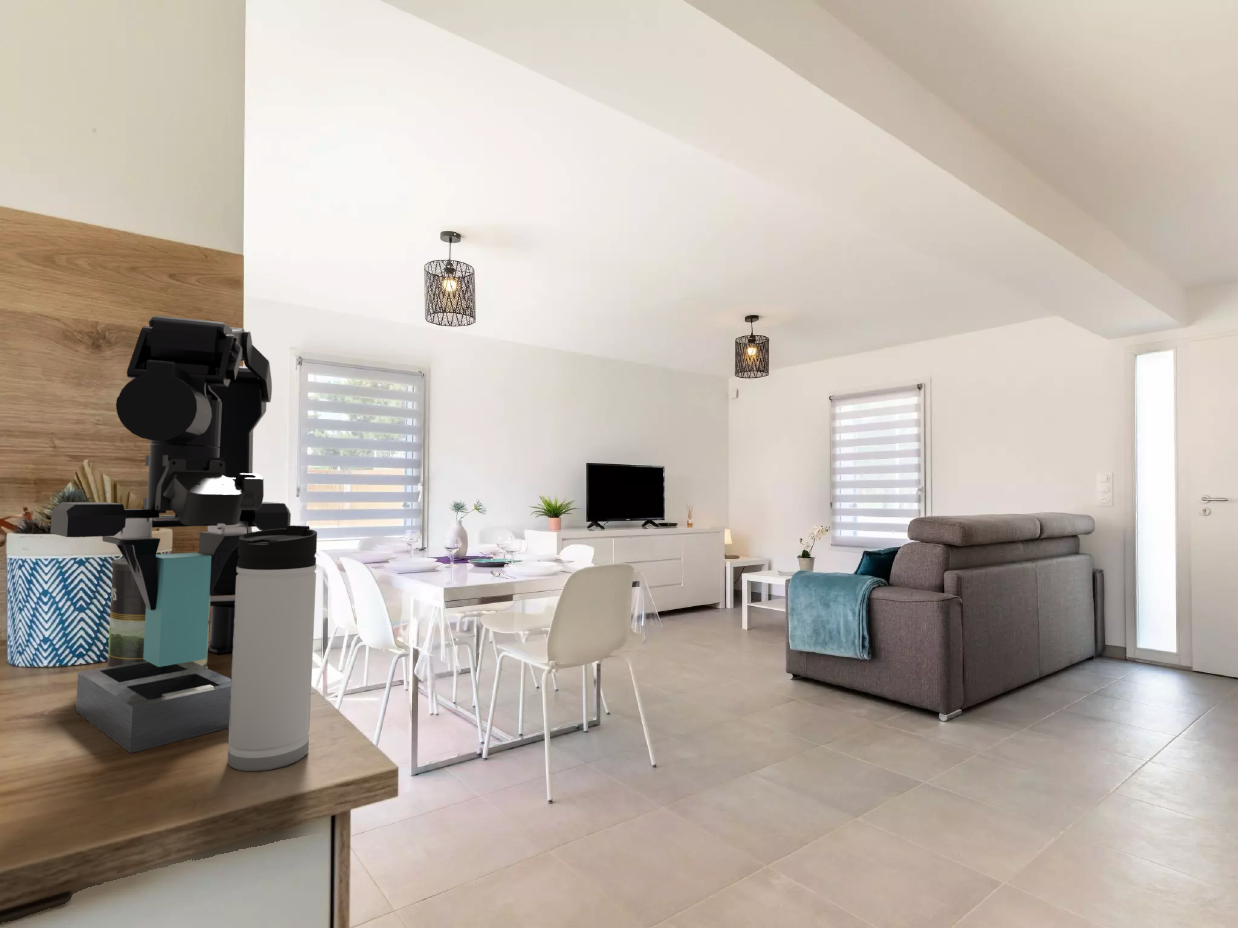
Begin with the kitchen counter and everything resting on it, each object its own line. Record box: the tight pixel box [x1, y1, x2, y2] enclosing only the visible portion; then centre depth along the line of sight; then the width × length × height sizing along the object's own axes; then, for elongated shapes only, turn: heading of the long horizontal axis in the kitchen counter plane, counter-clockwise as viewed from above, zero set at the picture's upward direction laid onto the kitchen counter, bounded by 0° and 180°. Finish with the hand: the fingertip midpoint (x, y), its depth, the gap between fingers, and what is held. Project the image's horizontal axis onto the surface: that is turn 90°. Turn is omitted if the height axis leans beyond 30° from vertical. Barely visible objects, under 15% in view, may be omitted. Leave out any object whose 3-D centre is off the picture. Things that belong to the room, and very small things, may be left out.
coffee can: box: [106, 557, 212, 669], centre depth 80 cm, size 10×10×14 cm
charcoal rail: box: [75, 661, 231, 754], centre depth 66 cm, size 16×9×4 cm, turn 53°
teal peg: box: [143, 552, 211, 667], centre depth 64 cm, size 4×4×10 cm
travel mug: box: [227, 524, 318, 772], centre depth 58 cm, size 6×7×20 cm
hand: (177, 606), depth 64 cm, fingers closed on teal peg, 4 cm apart
